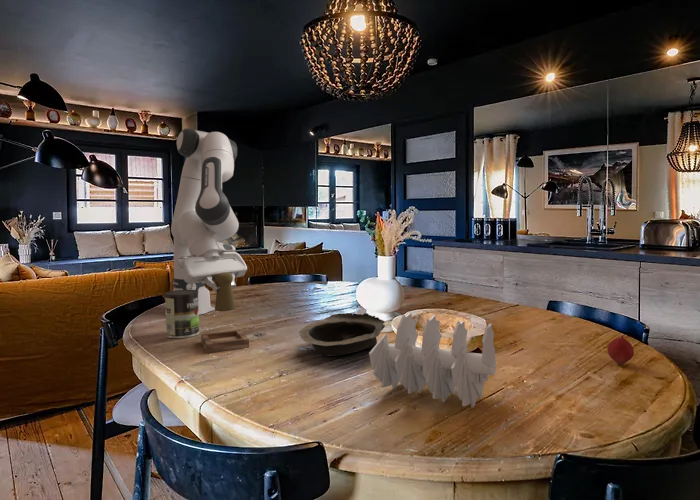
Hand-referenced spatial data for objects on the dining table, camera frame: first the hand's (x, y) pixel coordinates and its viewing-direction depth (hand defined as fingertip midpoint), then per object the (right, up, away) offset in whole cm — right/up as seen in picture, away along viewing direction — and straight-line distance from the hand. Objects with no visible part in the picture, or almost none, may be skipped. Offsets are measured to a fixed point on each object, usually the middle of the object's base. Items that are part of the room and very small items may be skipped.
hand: (225, 288), depth 134 cm
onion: (+108, -19, -17) cm, 111 cm away
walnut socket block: (-1, -17, +2) cm, 17 cm away
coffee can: (-18, -16, +13) cm, 28 cm away
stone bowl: (+35, -18, -5) cm, 40 cm away
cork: (0, -6, +1) cm, 6 cm away
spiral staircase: (+56, -21, -36) cm, 70 cm away
